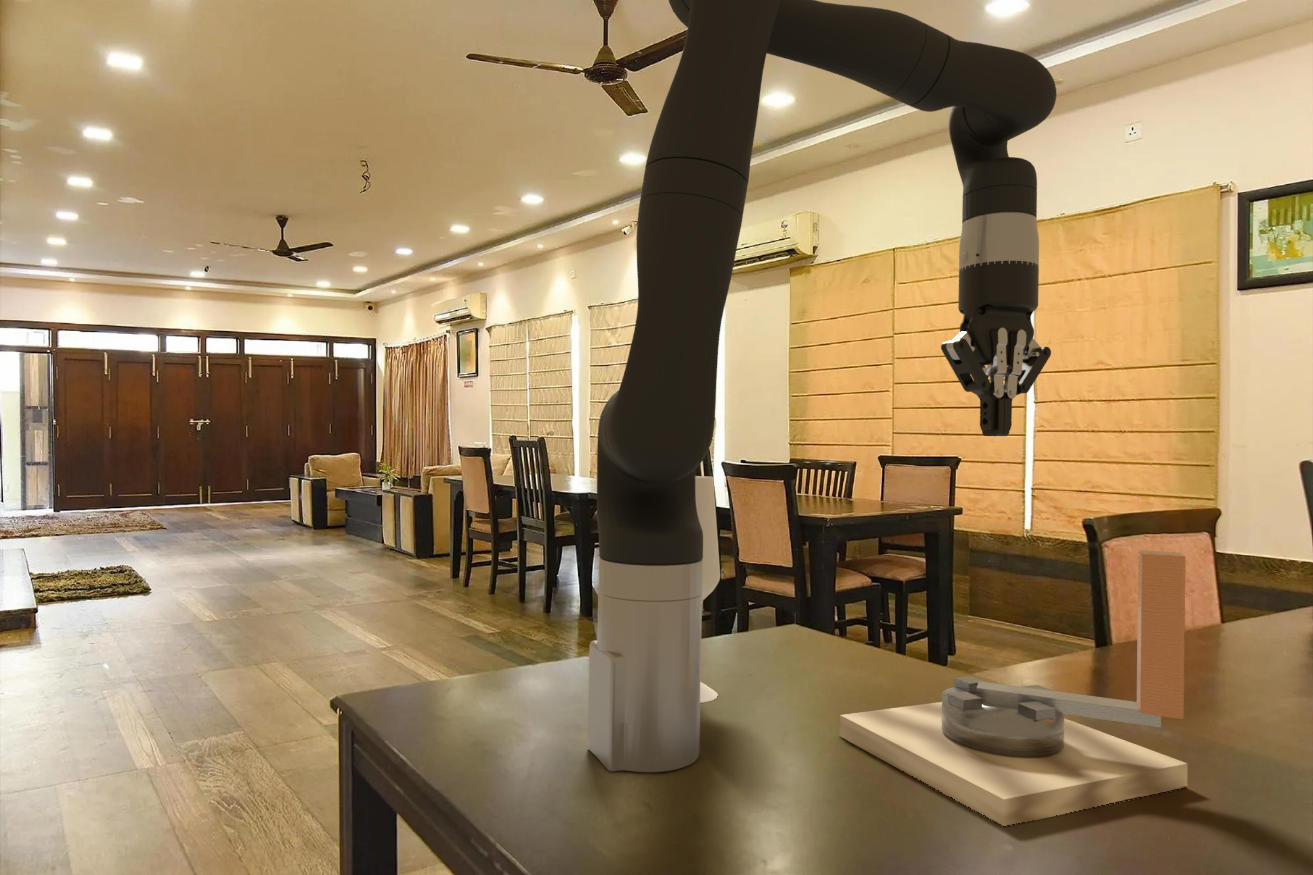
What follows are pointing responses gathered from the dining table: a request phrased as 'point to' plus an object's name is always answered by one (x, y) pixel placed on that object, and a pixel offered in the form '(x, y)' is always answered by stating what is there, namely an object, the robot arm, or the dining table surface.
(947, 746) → the maple base
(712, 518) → the champagne flute
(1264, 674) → the dining table surface
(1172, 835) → the dining table surface
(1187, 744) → the dining table surface
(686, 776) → the dining table surface
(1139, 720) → the grey disc with bar
